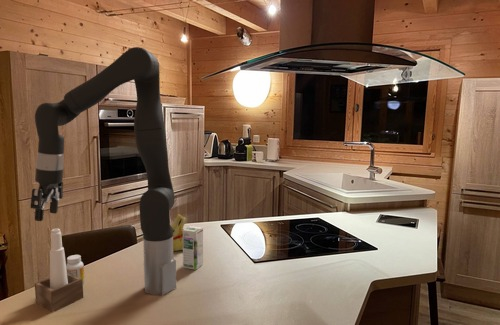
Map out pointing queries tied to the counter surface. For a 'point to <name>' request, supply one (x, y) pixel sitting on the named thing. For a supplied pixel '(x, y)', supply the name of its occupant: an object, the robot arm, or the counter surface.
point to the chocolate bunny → (178, 232)
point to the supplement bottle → (75, 266)
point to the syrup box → (192, 247)
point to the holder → (59, 293)
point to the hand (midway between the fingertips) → (46, 216)
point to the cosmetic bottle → (57, 261)
